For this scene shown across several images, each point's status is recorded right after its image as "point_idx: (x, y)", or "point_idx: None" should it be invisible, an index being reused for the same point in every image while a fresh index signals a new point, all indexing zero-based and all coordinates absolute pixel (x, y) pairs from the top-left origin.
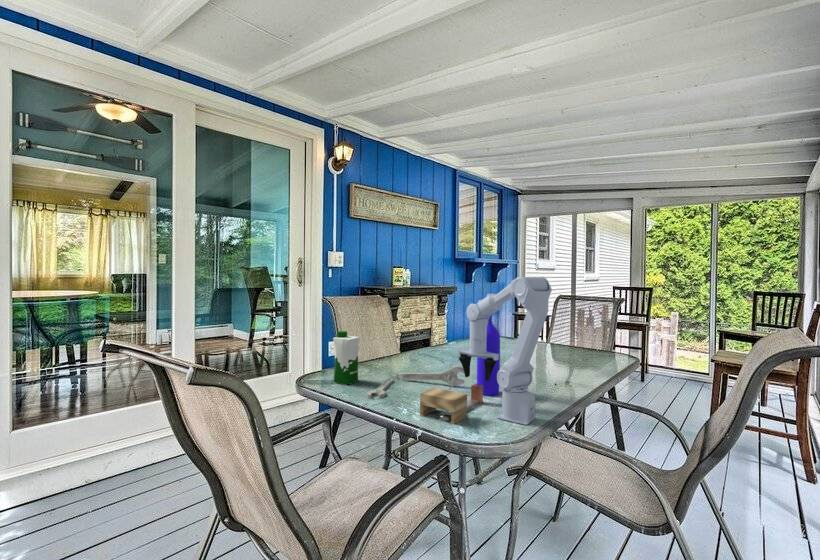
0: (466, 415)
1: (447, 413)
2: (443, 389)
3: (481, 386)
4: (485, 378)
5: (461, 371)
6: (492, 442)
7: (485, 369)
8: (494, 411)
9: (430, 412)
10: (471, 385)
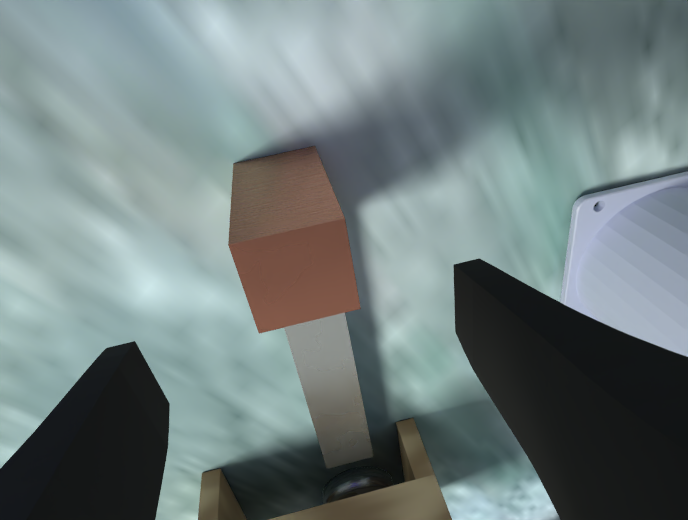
0: (415, 426)
1: None
2: None
3: (350, 256)
4: (473, 359)
5: None
6: None
7: (556, 499)
8: (495, 247)
9: (238, 503)
10: (261, 332)
